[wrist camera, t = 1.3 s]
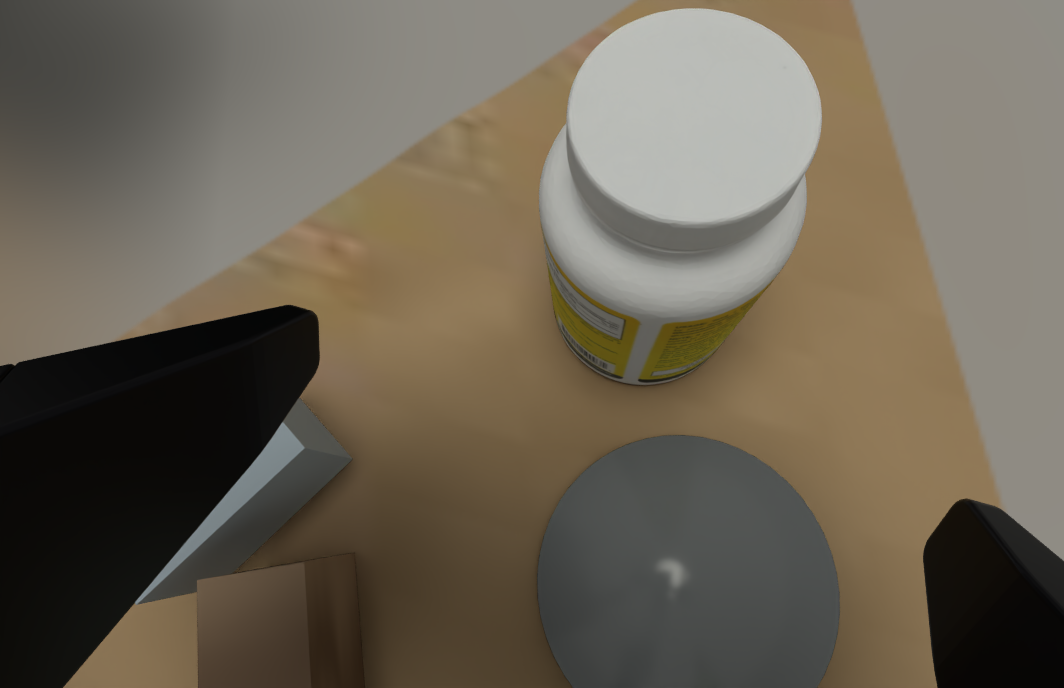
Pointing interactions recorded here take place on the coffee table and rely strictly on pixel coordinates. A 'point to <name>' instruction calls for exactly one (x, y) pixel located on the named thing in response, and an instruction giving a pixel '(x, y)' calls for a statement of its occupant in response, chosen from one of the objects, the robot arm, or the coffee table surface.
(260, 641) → the walnut block
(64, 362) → the robot arm
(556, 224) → the pill bottle
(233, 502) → the blue-grey block
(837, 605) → the slate coaster
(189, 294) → the coffee table surface
